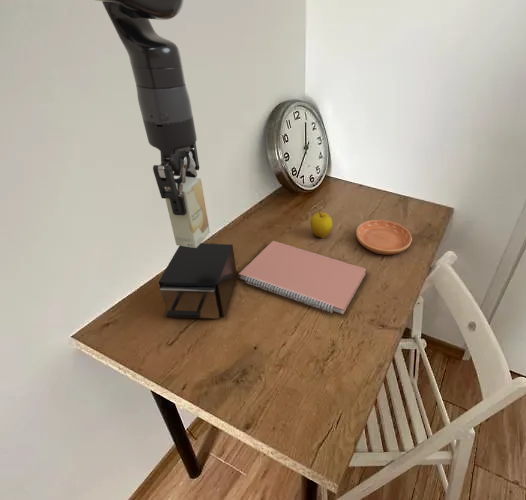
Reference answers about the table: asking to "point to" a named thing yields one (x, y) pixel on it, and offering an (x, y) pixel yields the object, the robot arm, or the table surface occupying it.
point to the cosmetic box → (190, 215)
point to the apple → (321, 224)
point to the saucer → (383, 236)
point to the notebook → (304, 276)
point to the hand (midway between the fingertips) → (186, 204)
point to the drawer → (190, 301)
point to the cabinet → (204, 270)
